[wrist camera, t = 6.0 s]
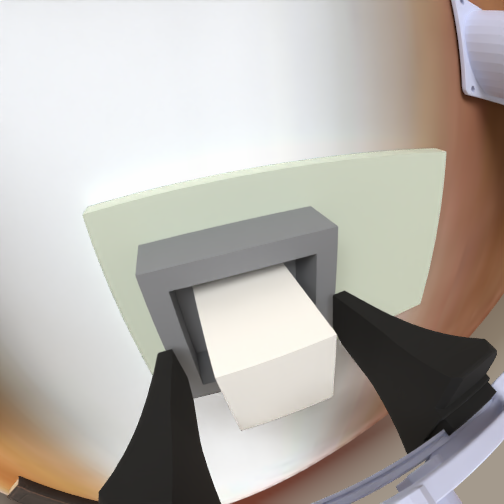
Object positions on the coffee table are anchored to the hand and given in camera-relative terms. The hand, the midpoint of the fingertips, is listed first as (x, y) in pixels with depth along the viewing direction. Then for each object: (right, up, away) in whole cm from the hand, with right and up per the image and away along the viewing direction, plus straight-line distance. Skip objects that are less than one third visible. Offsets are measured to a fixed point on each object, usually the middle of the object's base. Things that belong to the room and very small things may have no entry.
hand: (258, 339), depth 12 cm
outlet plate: (+3, +3, +4) cm, 6 cm away
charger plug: (-1, +1, +2) cm, 3 cm away
